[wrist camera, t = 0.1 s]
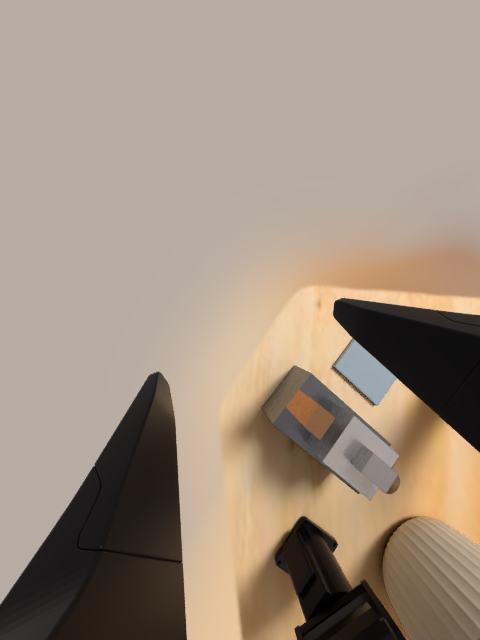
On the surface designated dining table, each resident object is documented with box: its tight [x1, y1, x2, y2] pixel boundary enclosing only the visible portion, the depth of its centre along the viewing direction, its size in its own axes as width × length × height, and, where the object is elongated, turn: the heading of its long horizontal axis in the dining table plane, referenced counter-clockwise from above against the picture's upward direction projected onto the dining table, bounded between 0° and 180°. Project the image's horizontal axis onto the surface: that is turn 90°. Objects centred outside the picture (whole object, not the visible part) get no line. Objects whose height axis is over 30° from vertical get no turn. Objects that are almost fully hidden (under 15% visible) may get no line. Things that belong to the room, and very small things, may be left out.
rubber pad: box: [333, 339, 396, 406], centre depth 27 cm, size 9×8×1 cm
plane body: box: [262, 366, 400, 494], centre depth 22 cm, size 14×7×8 cm, turn 49°
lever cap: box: [307, 403, 399, 501], centre depth 20 cm, size 7×5×4 cm
